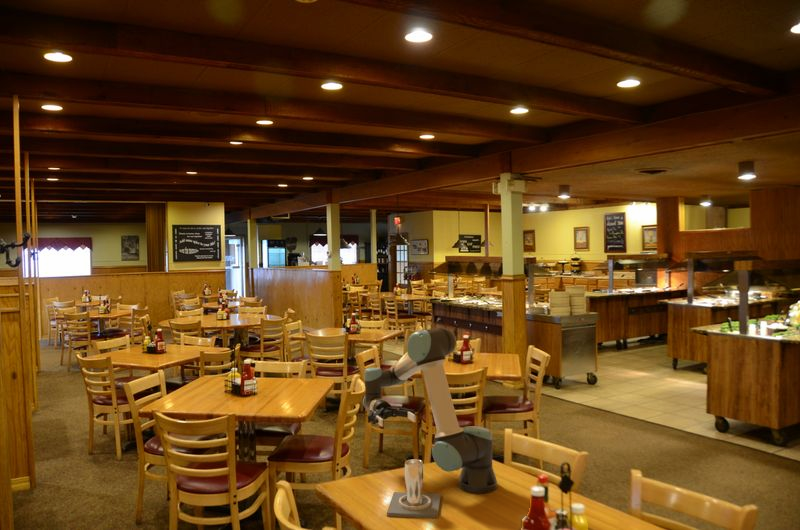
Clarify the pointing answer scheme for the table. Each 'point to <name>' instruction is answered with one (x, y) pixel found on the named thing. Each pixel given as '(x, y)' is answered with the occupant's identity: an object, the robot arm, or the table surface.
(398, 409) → the robot arm
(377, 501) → the table surface
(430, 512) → the coaster board
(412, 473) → the beer glass
